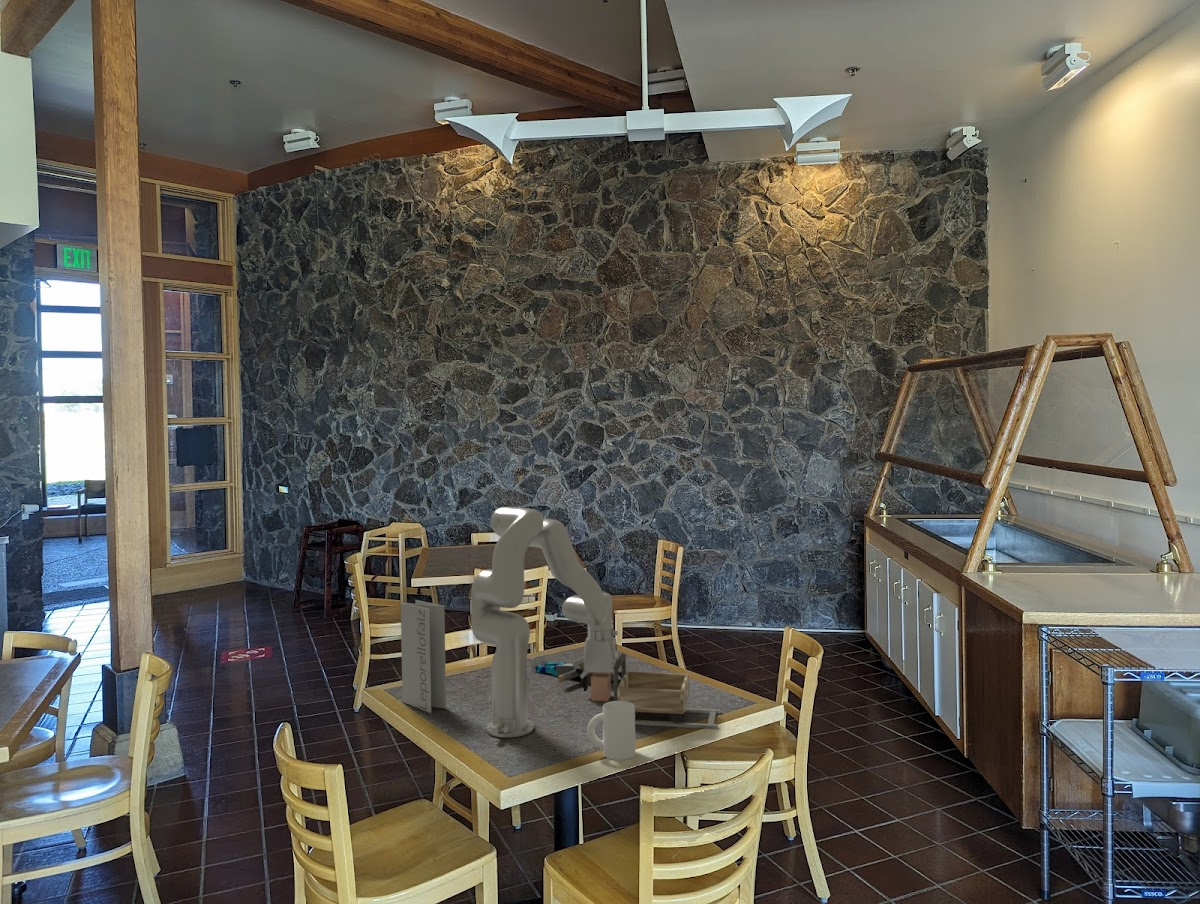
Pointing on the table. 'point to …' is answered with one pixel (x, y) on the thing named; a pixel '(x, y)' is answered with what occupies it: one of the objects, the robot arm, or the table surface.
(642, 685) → the cart
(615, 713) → the mug
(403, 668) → the brochure
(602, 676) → the block
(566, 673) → the toy
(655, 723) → the rails
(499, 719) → the robot arm
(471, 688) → the table surface
